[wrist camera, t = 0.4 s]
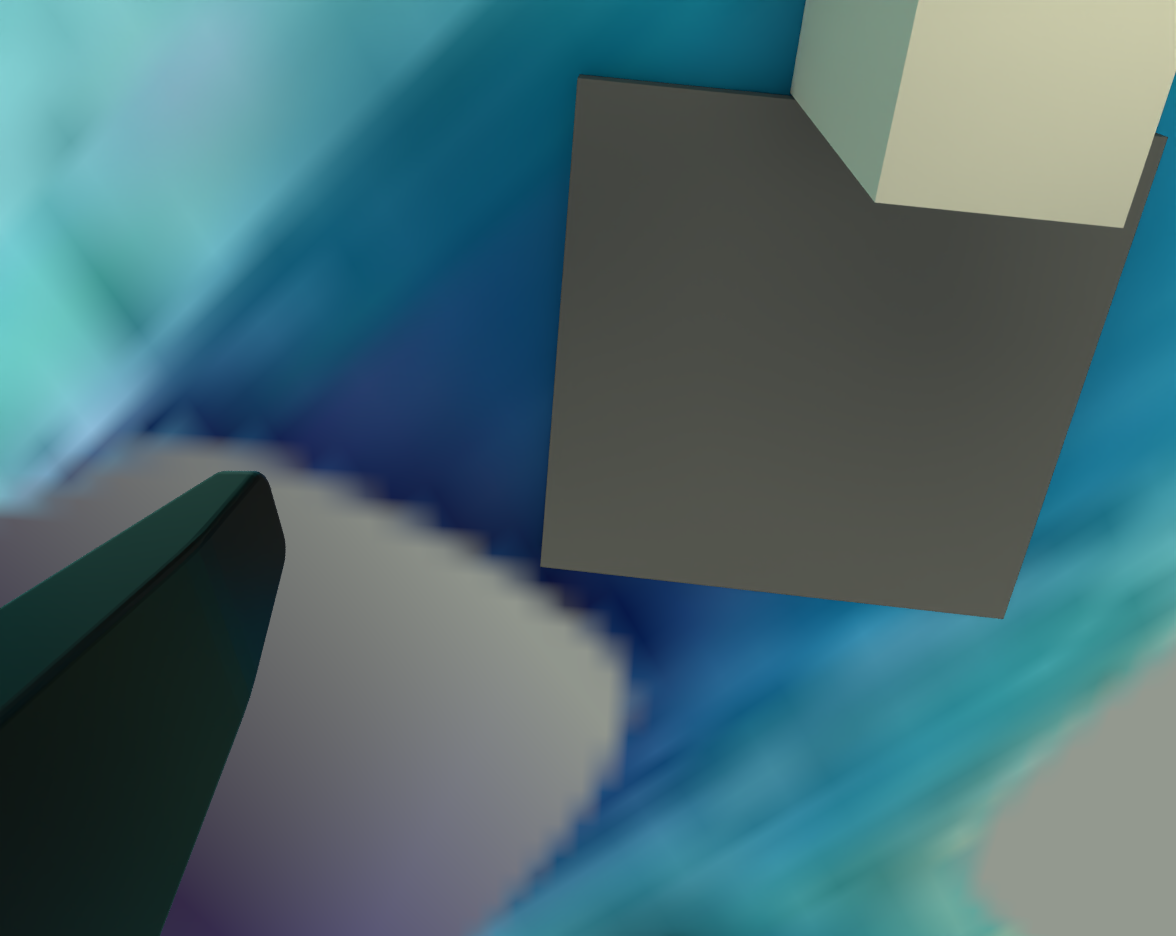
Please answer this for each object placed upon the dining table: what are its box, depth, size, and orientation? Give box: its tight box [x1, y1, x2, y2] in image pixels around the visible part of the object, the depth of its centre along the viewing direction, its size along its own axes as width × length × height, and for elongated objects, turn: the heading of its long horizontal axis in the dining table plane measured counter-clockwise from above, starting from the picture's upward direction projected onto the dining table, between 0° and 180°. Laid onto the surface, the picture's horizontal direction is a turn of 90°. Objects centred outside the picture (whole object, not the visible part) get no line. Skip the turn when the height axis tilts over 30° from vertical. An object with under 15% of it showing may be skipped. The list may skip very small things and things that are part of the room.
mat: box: [540, 75, 1168, 619], centre depth 24 cm, size 12×12×1 cm
